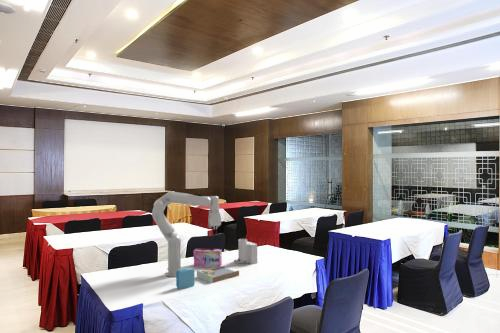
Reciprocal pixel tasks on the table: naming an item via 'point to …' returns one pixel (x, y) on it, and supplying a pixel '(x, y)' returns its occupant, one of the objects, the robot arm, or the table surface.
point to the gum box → (207, 257)
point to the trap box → (217, 274)
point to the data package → (185, 278)
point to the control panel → (247, 252)
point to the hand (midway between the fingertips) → (214, 234)
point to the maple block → (210, 272)
